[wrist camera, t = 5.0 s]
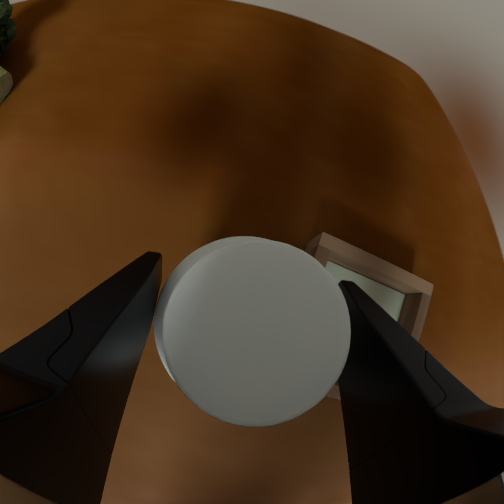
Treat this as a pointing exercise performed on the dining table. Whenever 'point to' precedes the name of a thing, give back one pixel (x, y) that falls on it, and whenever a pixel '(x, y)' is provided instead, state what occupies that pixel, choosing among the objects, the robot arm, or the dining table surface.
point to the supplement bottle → (252, 330)
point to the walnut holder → (375, 283)
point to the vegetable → (5, 45)
